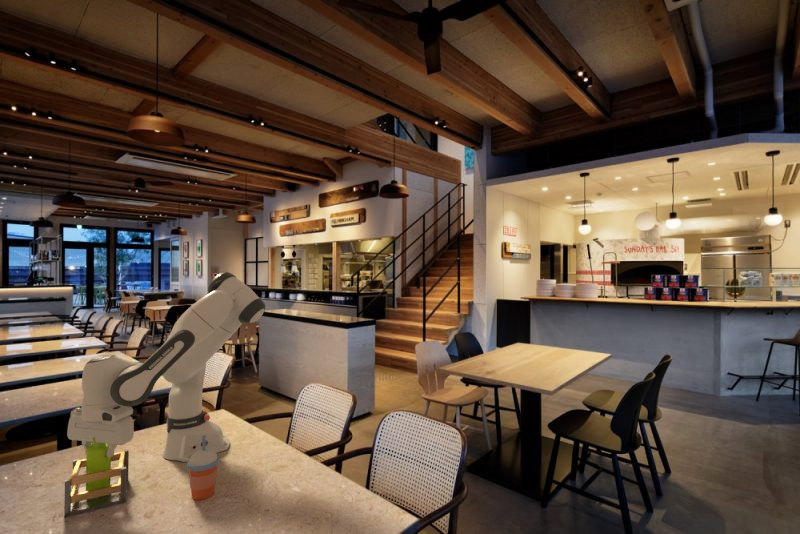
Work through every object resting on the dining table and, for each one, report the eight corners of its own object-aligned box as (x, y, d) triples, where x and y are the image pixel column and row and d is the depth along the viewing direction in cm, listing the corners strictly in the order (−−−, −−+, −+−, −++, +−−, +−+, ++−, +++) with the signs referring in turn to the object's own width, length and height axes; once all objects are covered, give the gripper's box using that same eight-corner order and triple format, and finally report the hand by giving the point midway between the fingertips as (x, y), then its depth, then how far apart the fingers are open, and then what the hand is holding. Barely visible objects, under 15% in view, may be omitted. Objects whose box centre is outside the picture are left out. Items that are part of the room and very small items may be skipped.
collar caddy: (128, 479, 129) (128, 449, 129) (125, 502, 117) (126, 468, 117) (73, 492, 121) (73, 459, 121) (64, 517, 110) (64, 481, 110)
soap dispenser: (102, 496, 116) (103, 428, 116) (80, 494, 117) (81, 427, 116) (118, 484, 122) (119, 420, 122) (97, 483, 122) (98, 419, 122)
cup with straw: (185, 506, 115) (186, 445, 115) (186, 490, 124) (187, 433, 123) (220, 498, 120) (220, 439, 120) (218, 483, 128) (219, 427, 128)
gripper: (61, 410, 118) (60, 457, 118) (119, 416, 114) (119, 464, 114) (81, 403, 124) (81, 447, 124) (137, 408, 120) (137, 453, 121)
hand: (99, 455), depth 119 cm, fingers closed on soap dispenser, 5 cm apart
